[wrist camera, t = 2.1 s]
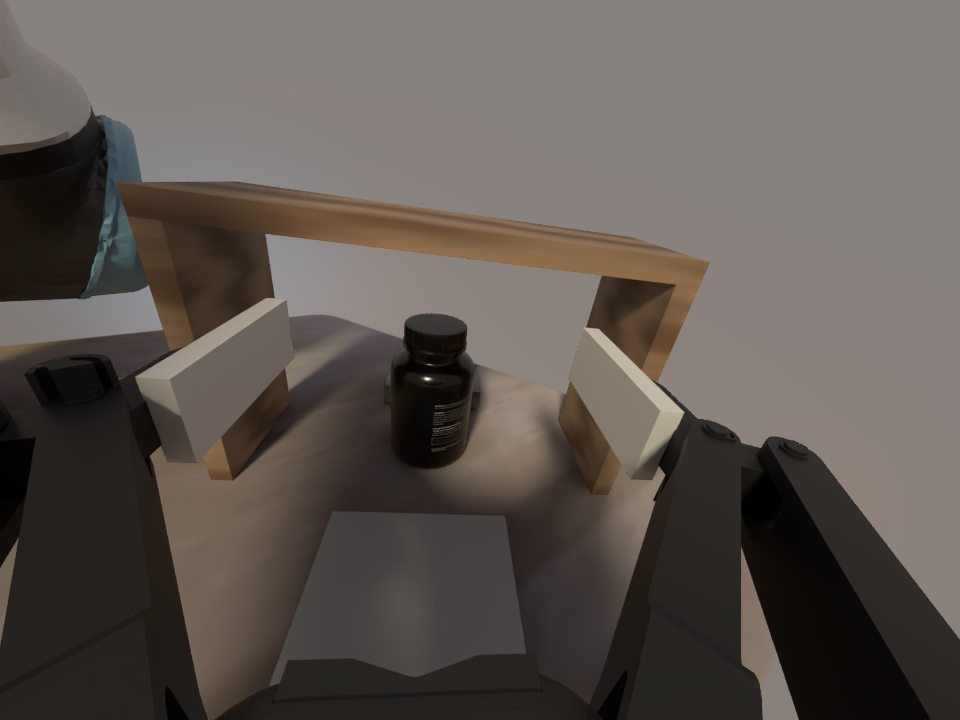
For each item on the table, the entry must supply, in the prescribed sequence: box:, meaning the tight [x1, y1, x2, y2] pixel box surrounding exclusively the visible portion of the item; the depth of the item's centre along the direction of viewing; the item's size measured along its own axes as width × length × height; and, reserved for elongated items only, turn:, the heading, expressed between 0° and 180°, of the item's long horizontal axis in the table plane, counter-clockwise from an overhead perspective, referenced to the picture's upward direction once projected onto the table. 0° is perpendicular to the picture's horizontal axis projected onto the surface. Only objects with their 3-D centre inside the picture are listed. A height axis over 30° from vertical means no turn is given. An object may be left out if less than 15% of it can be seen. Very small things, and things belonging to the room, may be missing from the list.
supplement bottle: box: [391, 314, 475, 469], centre depth 28 cm, size 7×7×12 cm
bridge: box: [116, 182, 710, 495], centre depth 27 cm, size 10×31×20 cm, turn 94°
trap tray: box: [384, 365, 480, 409], centre depth 39 cm, size 6×10×2 cm, turn 94°
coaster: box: [269, 511, 526, 687], centre depth 19 cm, size 12×12×1 cm
